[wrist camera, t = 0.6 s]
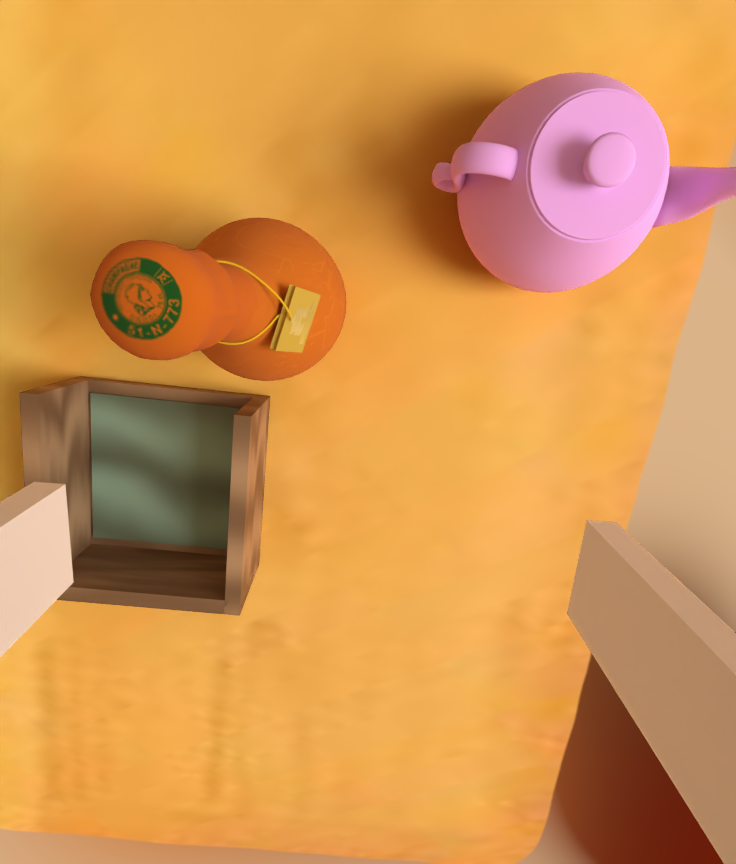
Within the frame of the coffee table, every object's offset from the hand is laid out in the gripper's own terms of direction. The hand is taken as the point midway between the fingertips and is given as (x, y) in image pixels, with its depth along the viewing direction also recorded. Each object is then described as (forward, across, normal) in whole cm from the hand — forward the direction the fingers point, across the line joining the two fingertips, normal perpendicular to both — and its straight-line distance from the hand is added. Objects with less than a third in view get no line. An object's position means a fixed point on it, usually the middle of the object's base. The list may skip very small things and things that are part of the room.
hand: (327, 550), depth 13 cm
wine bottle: (+32, -6, +5) cm, 33 cm away
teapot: (+33, +15, +14) cm, 39 cm away
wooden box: (+32, -15, -11) cm, 37 cm away
